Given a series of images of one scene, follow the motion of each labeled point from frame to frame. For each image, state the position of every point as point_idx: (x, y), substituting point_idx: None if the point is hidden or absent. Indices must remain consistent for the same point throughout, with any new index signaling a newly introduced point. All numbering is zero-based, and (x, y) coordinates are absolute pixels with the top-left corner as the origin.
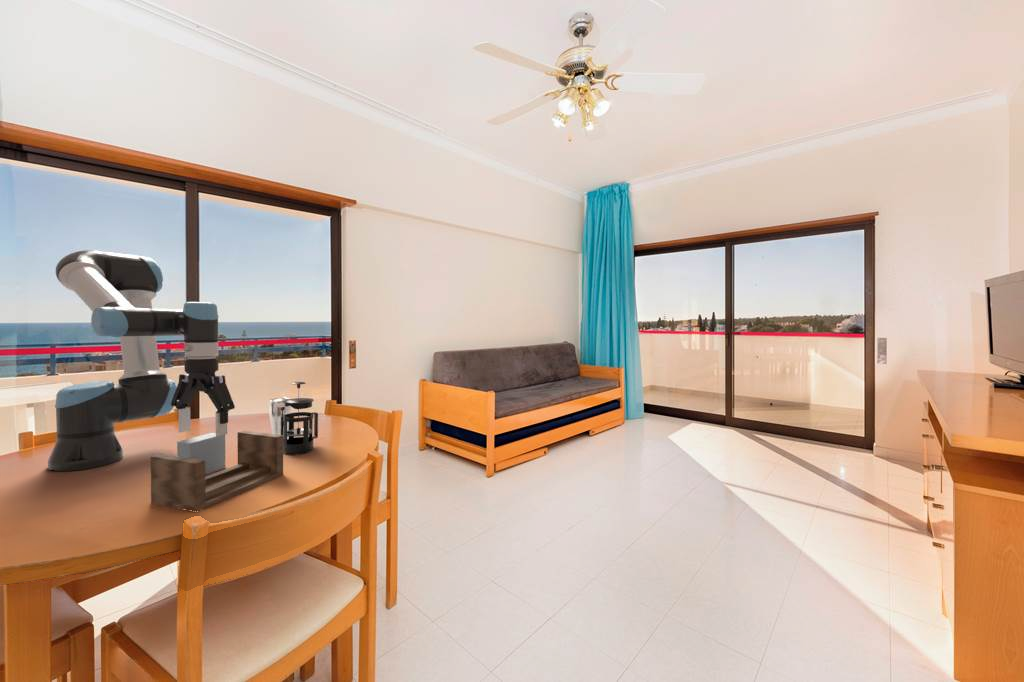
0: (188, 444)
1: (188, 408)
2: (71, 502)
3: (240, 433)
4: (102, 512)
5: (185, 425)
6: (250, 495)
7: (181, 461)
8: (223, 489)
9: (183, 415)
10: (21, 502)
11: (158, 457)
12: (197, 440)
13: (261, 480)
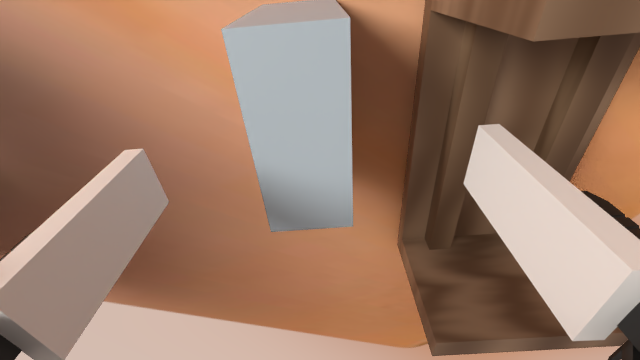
0: (345, 223)
1: (8, 306)
2: (247, 283)
3: (561, 36)
4: (350, 282)
5: (136, 202)
6: (612, 144)
7: (560, 348)
8: None
9: (92, 279)
10: (174, 304)
11: (463, 353)
12: (335, 188)
13: (621, 76)
